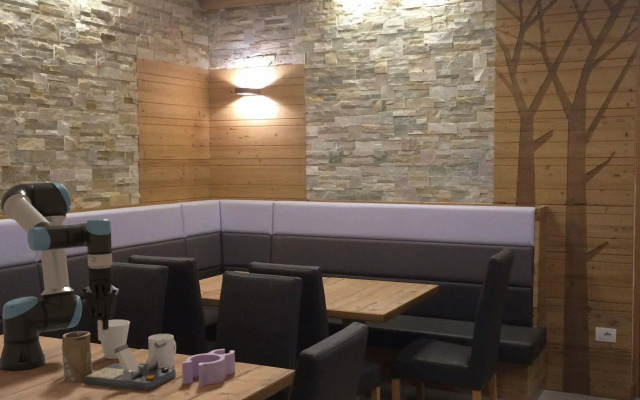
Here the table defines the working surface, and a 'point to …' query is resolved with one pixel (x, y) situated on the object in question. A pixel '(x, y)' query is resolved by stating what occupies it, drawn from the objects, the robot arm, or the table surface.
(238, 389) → the table surface
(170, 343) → the mug
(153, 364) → the toggle
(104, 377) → the panel
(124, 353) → the toggle
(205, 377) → the clip
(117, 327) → the cup
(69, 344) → the mug
